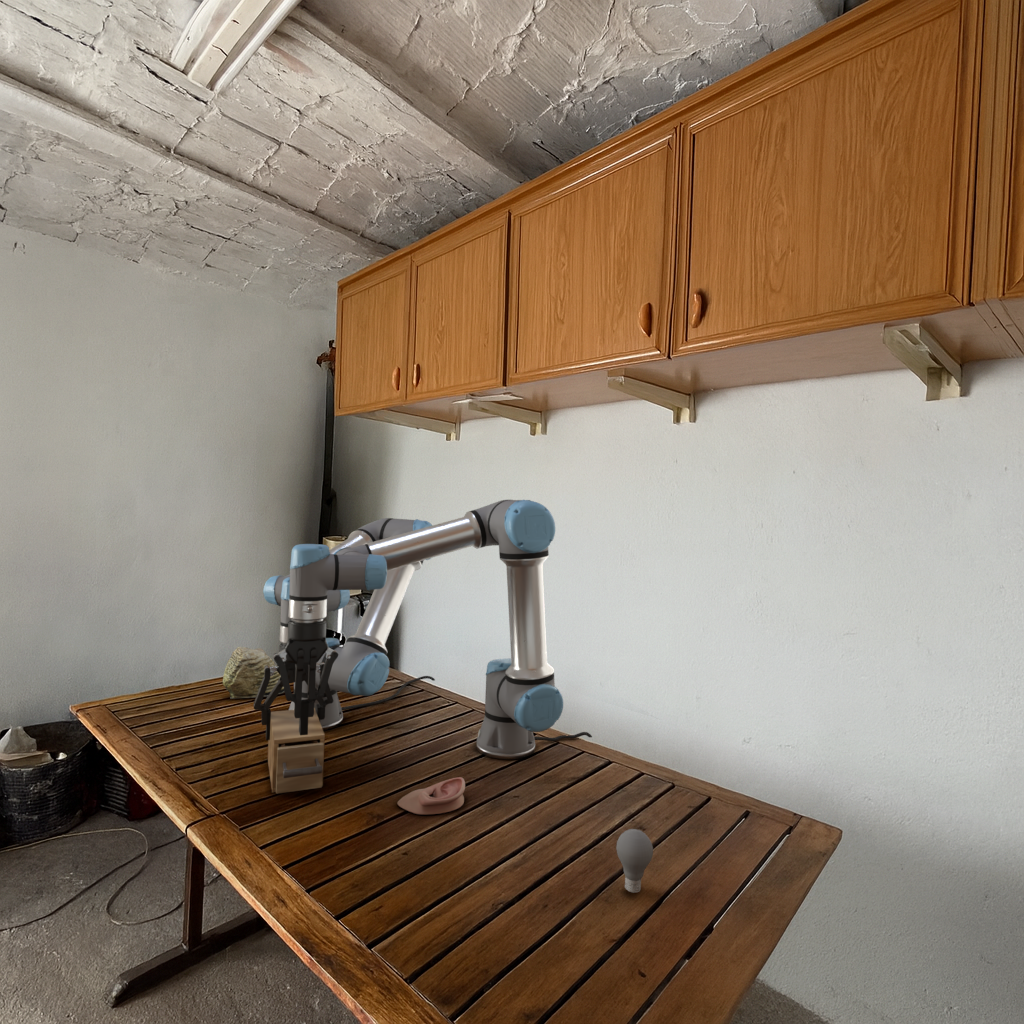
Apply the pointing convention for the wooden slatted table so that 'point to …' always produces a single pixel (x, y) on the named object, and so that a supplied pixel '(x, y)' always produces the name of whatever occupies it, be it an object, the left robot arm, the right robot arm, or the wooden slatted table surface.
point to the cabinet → (289, 736)
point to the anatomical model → (435, 798)
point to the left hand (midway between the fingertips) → (292, 735)
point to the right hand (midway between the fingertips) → (303, 732)
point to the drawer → (299, 766)
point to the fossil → (248, 673)
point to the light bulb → (634, 857)
